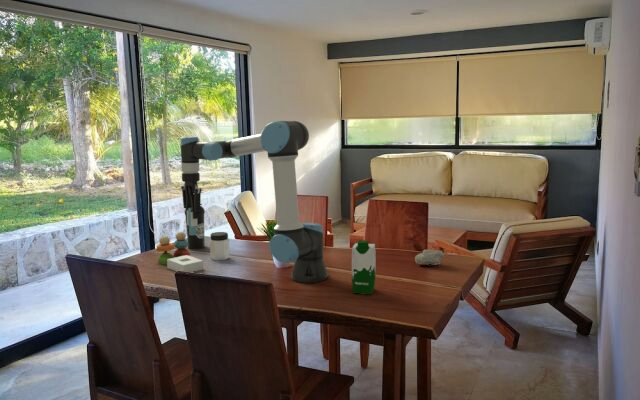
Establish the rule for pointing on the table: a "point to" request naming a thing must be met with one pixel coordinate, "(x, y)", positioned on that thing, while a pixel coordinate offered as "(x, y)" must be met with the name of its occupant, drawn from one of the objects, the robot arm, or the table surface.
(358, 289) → the milk carton
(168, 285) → the table surface
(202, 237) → the water bottle
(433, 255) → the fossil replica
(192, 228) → the peg
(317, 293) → the table surface
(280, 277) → the table surface
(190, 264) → the socket block
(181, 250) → the colourful stacking toy
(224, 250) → the jar
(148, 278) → the table surface
